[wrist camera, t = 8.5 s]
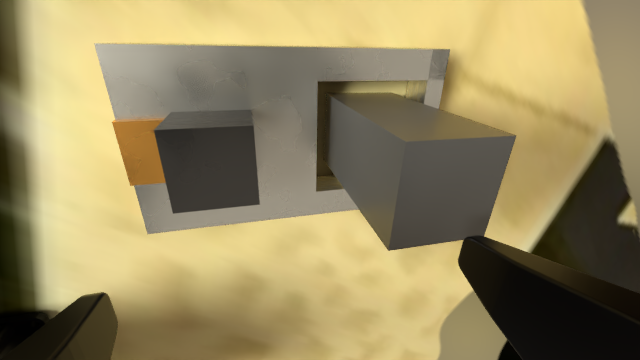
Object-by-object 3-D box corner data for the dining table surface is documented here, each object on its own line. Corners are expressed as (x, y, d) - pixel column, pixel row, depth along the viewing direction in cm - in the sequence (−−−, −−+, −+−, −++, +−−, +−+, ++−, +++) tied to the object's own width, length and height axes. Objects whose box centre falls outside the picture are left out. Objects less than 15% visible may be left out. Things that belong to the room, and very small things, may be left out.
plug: (382, 155, 19) (483, 236, 11) (323, 159, 18) (388, 250, 10) (390, 92, 17) (516, 135, 10) (326, 93, 16) (405, 141, 9)
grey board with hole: (405, 188, 21) (450, 227, 16) (157, 214, 17) (128, 274, 13) (428, 48, 17) (494, 51, 12) (113, 43, 13) (50, 44, 9)
